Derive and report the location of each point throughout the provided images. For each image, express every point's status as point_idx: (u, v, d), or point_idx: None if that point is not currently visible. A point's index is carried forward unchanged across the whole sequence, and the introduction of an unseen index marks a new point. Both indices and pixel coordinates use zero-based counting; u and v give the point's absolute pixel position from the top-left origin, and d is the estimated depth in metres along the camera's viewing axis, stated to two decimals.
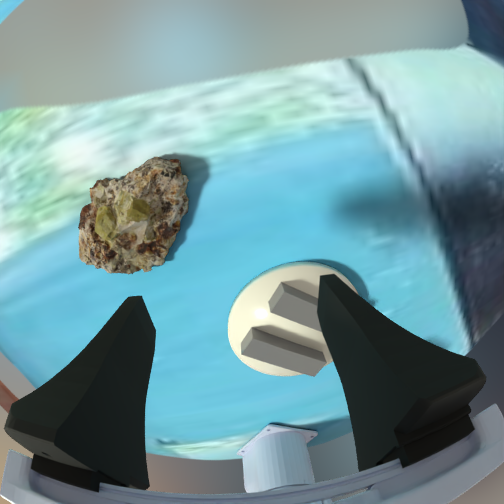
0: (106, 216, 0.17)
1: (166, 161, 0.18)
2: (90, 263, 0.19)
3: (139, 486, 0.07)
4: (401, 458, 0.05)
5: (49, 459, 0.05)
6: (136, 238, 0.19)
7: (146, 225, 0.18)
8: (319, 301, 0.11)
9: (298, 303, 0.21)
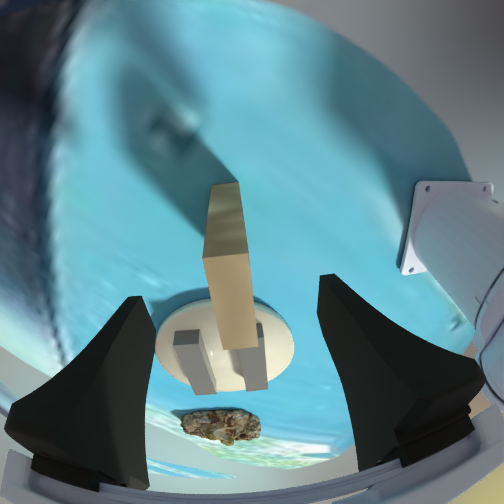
0: (222, 442, 0.31)
1: None
2: (256, 436, 0.32)
3: (139, 487, 0.07)
4: (401, 459, 0.05)
5: (49, 459, 0.05)
6: (227, 429, 0.30)
7: (216, 430, 0.30)
8: (319, 301, 0.11)
9: (196, 386, 0.23)
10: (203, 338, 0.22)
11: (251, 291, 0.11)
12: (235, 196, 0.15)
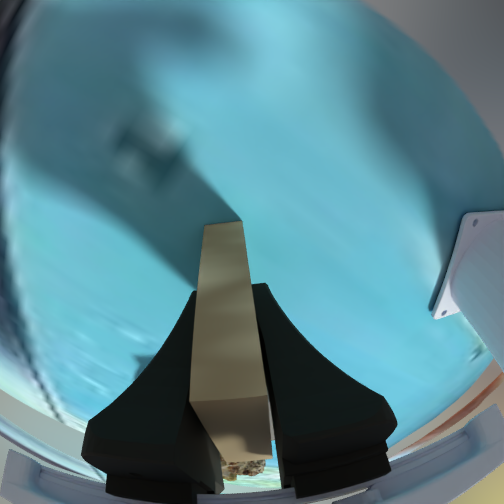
0: (224, 478, 0.26)
1: None
2: (260, 471, 0.27)
3: (216, 491, 0.07)
4: (294, 488, 0.05)
5: (131, 478, 0.05)
6: (229, 466, 0.26)
7: None
8: None
9: None
10: None
11: (268, 425, 0.06)
12: (238, 251, 0.10)
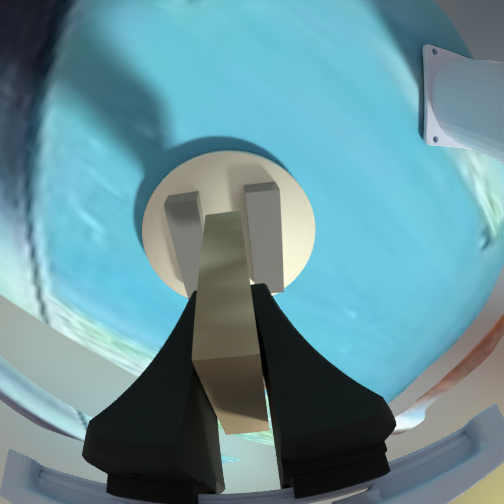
0: None
1: None
2: None
3: (217, 491, 0.07)
4: (293, 489, 0.05)
5: (132, 478, 0.05)
6: None
7: None
8: None
9: (190, 285, 0.19)
10: (202, 207, 0.18)
11: (262, 389, 0.07)
12: (236, 236, 0.11)
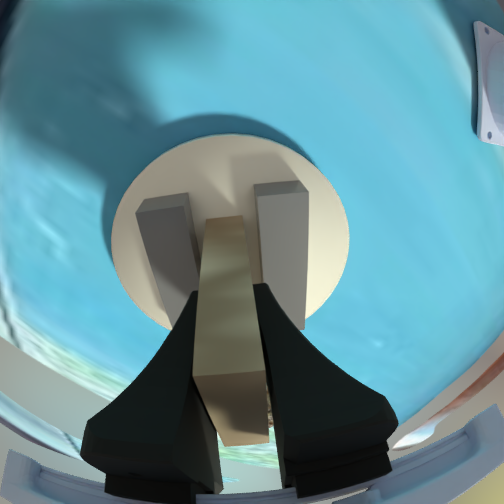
0: None
1: None
2: None
3: (215, 491, 0.07)
4: (296, 488, 0.05)
5: (130, 478, 0.05)
6: None
7: None
8: None
9: None
10: (194, 215, 0.12)
11: (265, 404, 0.07)
12: (238, 242, 0.11)
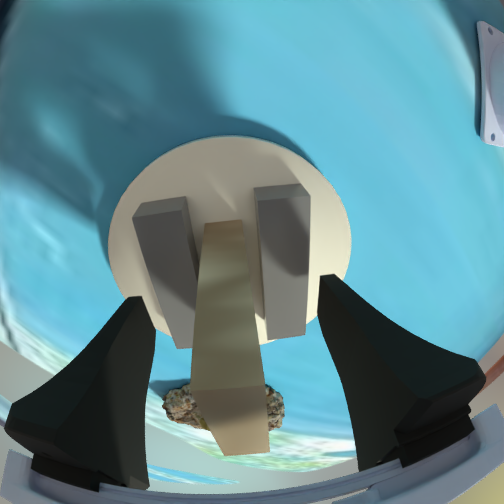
0: None
1: None
2: (278, 425, 0.21)
3: (139, 487, 0.07)
4: (401, 459, 0.05)
5: (49, 459, 0.05)
6: None
7: None
8: (319, 301, 0.11)
9: (177, 329, 0.13)
10: (192, 219, 0.12)
11: (265, 417, 0.06)
12: (238, 248, 0.10)
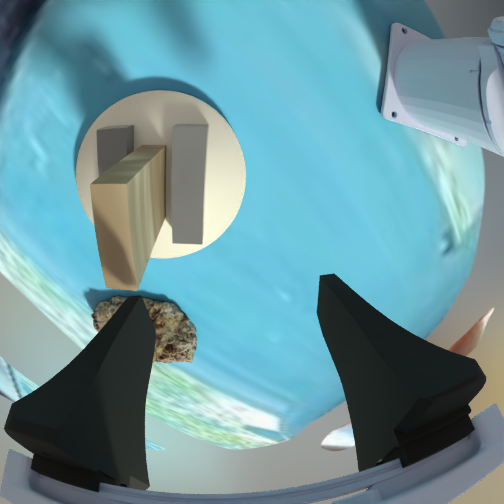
0: None
1: None
2: (188, 357, 0.25)
3: (139, 486, 0.07)
4: (401, 458, 0.05)
5: (49, 459, 0.05)
6: None
7: None
8: (319, 301, 0.11)
9: None
10: (135, 141, 0.16)
11: (128, 225, 0.10)
12: (153, 152, 0.14)
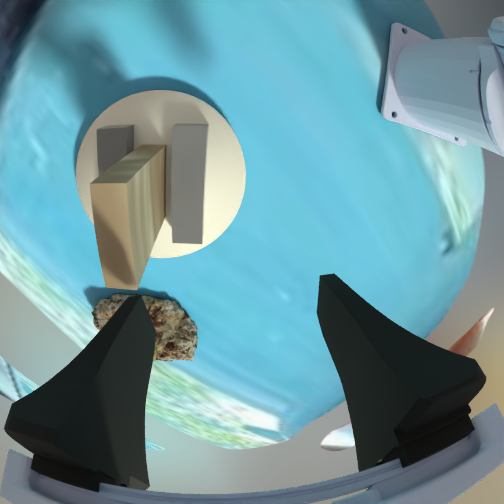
0: None
1: None
2: (189, 355, 0.25)
3: (139, 487, 0.07)
4: (401, 459, 0.05)
5: (49, 459, 0.05)
6: None
7: None
8: (319, 301, 0.11)
9: None
10: (134, 141, 0.16)
11: (128, 224, 0.10)
12: (153, 152, 0.14)
